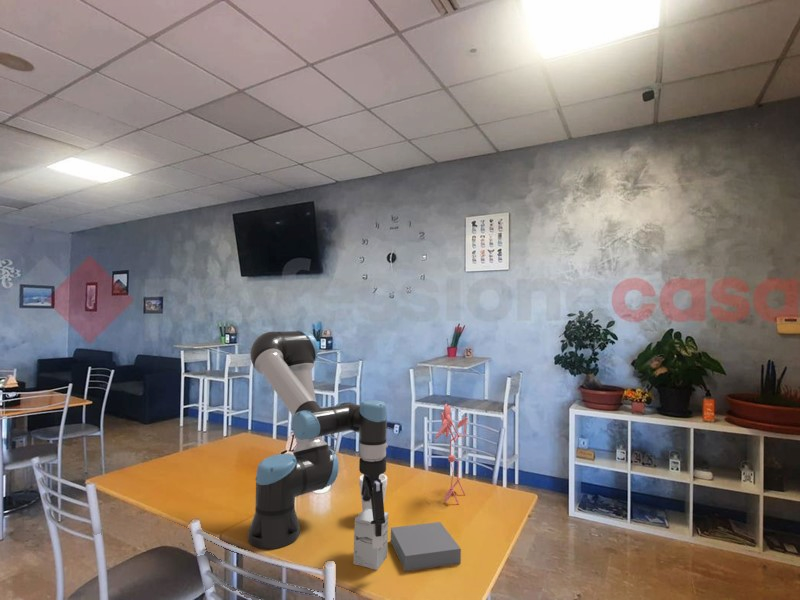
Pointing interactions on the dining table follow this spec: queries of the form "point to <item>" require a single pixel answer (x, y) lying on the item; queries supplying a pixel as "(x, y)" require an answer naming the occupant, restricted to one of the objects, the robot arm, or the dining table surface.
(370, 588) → the dining table surface
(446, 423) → the pink stick sculpture
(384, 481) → the foam cup
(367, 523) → the supplement box
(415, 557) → the block
